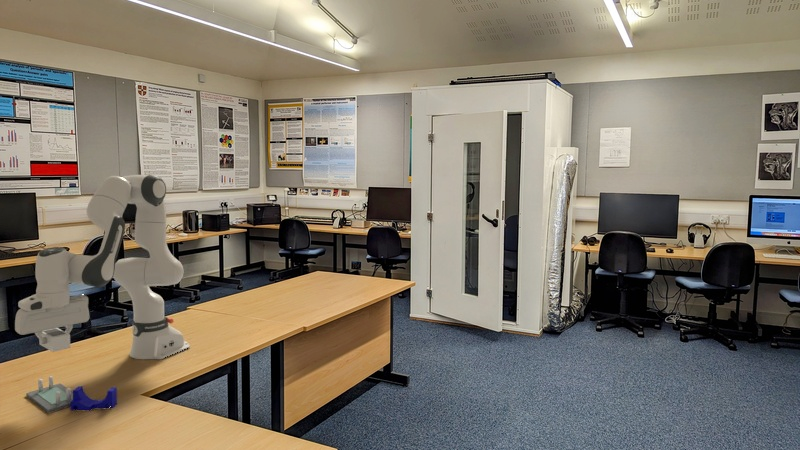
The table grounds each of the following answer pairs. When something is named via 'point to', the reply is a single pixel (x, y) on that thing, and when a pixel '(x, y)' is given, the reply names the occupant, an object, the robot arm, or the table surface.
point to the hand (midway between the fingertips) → (54, 341)
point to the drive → (56, 339)
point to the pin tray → (51, 396)
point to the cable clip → (92, 400)
